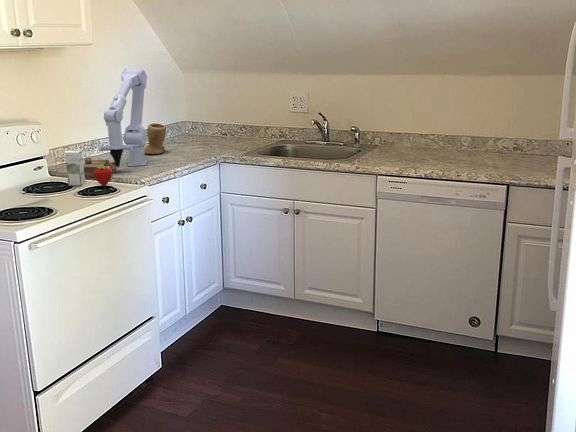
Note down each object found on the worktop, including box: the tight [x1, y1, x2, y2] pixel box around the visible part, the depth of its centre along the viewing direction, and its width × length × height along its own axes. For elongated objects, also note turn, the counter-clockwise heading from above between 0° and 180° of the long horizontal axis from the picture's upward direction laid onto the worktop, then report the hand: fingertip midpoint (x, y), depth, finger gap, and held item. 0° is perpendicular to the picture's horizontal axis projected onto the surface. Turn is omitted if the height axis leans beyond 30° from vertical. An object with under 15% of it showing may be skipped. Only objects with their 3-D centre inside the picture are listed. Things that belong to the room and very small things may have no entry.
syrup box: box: [64, 148, 86, 187], centre depth 266 cm, size 6×6×14 cm
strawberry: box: [93, 162, 113, 187], centre depth 263 cm, size 6×8×10 cm
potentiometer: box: [84, 154, 92, 164], centre depth 283 cm, size 3×3×4 cm
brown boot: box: [144, 122, 167, 155], centre depth 328 cm, size 15×12×15 cm
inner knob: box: [107, 161, 117, 172], centre depth 288 cm, size 4×12×4 cm, turn 95°
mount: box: [83, 159, 110, 180], centre depth 285 cm, size 15×9×5 cm, turn 5°
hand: (118, 166), depth 289 cm, fingers closed
